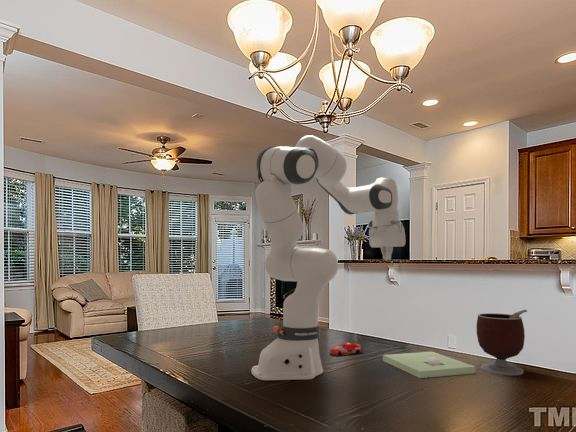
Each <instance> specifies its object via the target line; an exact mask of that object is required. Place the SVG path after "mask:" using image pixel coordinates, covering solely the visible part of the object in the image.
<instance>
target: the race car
mask: <svg viewBox="0 0 576 432" xmlns="http://www.w3.org/2000/svg"><path fill="white" fill-rule="evenodd" d="M363 351H364V349H363V346H362V345H361V344H357V343H353V342H343V343H341V344H338V346H335V347H332V348H331V349H330V350H329V354H330V355H331V356H337V357H342V356H349V355H360V354H362V353H363Z"/></svg>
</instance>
